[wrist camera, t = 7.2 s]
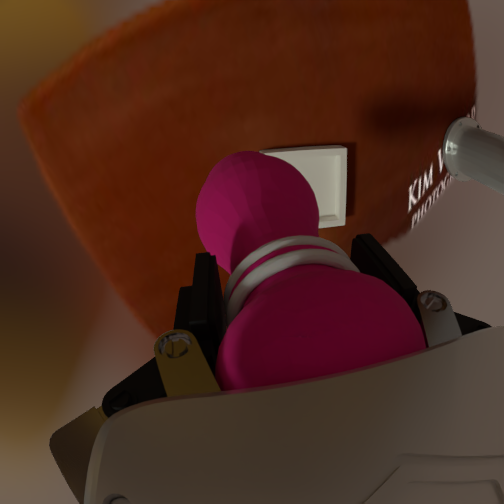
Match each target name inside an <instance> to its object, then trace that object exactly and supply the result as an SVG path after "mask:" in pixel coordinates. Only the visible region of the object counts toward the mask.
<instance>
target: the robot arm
mask: <svg viewBox="0 0 504 504" xmlns="http://www.w3.org/2000/svg"><path fill="white" fill-rule="evenodd" d="M443 158H444V163H445V166H446V168H447V170H448V172H449V173H450V175H451V176H452V177H454V178H455V179H457V180H459V181H469V180H471V179H474V180H476V181H478V182H480V183H482V184H484V185H486V186H488V187H489V188H491V189H493V190H495V191H497V192H498V193H500V194H502V195H504V137H503V136H500V135H497V134H495V133H491V132H488V131H485V130H482V128H481V126H480V125H479V123H478V122H477V121H475V120H474V119H472V118H469V117H460V118H457V119H456V120H455V121H453V122H452V124H451V125H450V126H449V128H448V130H447V132H446V135H445V138H444V143H443ZM350 260H351V262H352V263H353V264H354V265H355V266H356V267H357V268H358V269H359V271H360V273H363V274H366V275H370V276H373V277H376V278H378V279H380V280H382V281H384V282H385V283H386V284H387V285H389V286H390V287H391V288H392V289H394V290H395V291H396V292H397V293H398V294H399V295H400V296H401V297H402V298H403V299H404V300H405V301H406V303H407V304H408V305H409V307H410V308H411V310H412V312H413V314H414V315H415V317H416V319H417V320H418V322H419V324H420V326H421V329H422V332H423V335H424V339H425V344H426V349H423V350H420V351H417V352H414V353H410V354H407V355H404V356H400V357H397V358H394V359H390V360H387V361H383V362H379V363H376V364H372V365H368V366H364V367H360V368H357V369H352V370H348V371H344V372H339V373H334V374H330V375H325V376H320V377H315V378H310V379H304V380H299V381H293V382H287V383H281V384H275V385H268V386H261V387H253V388H245V389H237V390H228V391H221V390H220V388H219V386H218V384H217V382H216V380H215V366H216V360H217V355H218V349H219V346H220V344H221V342H222V340H223V337H224V335H225V333H226V317H225V310H224V301H223V295H222V290H221V284H220V278H219V272H218V266H217V260H216V255H211V254H210V252H206V253H197V254H196V259H195V267H194V276H193V284H192V286H186V287H181V288H180V290H179V296H178V303H177V309H176V315H175V322H174V329H173V330H171V331H168V332H166V333H164V334H162V335H161V336H160V337H159V338H158V339H157V340H156V342H155V344H154V354H155V357H154V358H153V359H151V360H150V361H149V362H147V363H146V364H144V365H143V366H142V367H140V368H139V369H138V370H137V371H135V372H134V373H132V374H131V375H130V376H128V377H127V378H125V379H124V380H123V381H121V382H120V383H119V384H117V385H116V386H114V387H113V388H112V389H110V390H109V391H108V392H107V393H106V395H105V396H104V398H103V401H102V406H100V407H99V408H97V409H96V408H95V407H92V408H91V409H89V410H88V411H86V412H85V413H83V414H82V415H80V416H78V417H77V418H75V419H74V420H72V421H71V422H69V423H67V424H66V425H64V426H63V427H61V428H60V429H58V430H57V431H55V432H54V433H53V434H52V436H51V438H50V443H49V446H50V450H51V453H52V455H53V457H54V459H55V461H56V463H57V465H58V467H59V469H60V471H61V473H62V475H63V477H64V478H65V480H66V482H67V484H68V486H69V487H70V489H71V491H72V492H73V494H74V496H75V497H76V499H77V501H78V502H79V504H504V326H497V327H491V326H490V325H488V324H487V323H485V322H482V321H479V320H476V319H473V318H470V317H467V316H464V315H461V314H459V313H456V312H453V309H452V306H451V304H450V302H449V300H448V299H447V298H446V297H445V296H444V295H443V294H441V293H439V292H436V291H431V290H427V291H423V292H421V293H420V292H419V291H418V290H417V286H416V285H415V284H414V282H413V281H412V280H411V279H410V278H409V276H408V275H407V274H406V273H405V272H404V271H403V269H402V268H401V267H400V266H399V265H398V264H397V263H396V261H395V260H394V259H393V258H392V257H391V256H390V255H389V254H388V252H387V251H386V250H385V249H384V248H383V247H382V246H381V245H380V244H379V243H378V242H377V240H376V239H375V238H374V237H373V236H372V235H371V234H360V235H357V236H356V238H354V239H353V240H352V248H351V258H350Z"/></svg>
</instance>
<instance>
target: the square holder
mask: <svg viewBox="0 0 504 504" xmlns="http://www.w3.org/2000/svg"><path fill="white" fill-rule="evenodd" d="M259 151H260V153H263V154H265V155H270V156H274V157H277V158H280V159H282V160H285V161H286V162H288V163H290V164H291V165H293V166H294V167H295V168H296V169H297V170H298V171H300V173H301V174H302V175H303V176H304V177H305V179H306V180H307V181H308V182H309V184H310V186H311V188H312V189H313V191H314V193H315V197H316V201H317V204H318V208H319V227H318V228H325V227H333V226H341V225H345V212H346V182H347V148H345V147H343V146H341V145H329V146H309V147H294V148H281V149H269V150H259Z"/></svg>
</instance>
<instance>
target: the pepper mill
mask: <svg viewBox="0 0 504 504" xmlns="http://www.w3.org/2000/svg"><path fill="white" fill-rule="evenodd" d="M196 220H197V227H198V232H199V235H200V239H201V241H202V243H203V245H204V247H205V249H206V250H207V252H210V254H211V255H216V260H217V264H219V265H220V266H221V267H222V268H224V269H225V270H226V271H227V272H229V273H230V275H231V276H230V278H229V280H228V283H227V285H226V288H225V292H224V310H225V314H226V326H227V331H226V333H225V335H224V337H223V340H222V342H221V344H220V346H219V349H218V355H217V360H216V366H215V380H216V382H217V384H218V386H219V388H220V390H221V391H228V390H237V389H245V388H253V387H261V386H268V385H275V384H281V383H287V382H293V381H299V380H304V379H310V378H315V377H320V376H325V375H330V374H334V373H339V372H344V371H348V370H352V369H357V368H360V367H364V366H368V365H372V364H376V363H379V362H383V361H387V360H390V359H394V358H397V357H400V356H404V355H407V354H410V353H414V352H417V351H420V350H423V349H426V344H425V339H424V335H423V332H422V329H421V326H420V324H419V322H418V320H417V319H416V317H415V315H414V314H413V312H412V310H411V308H410V307H409V305H408V304H407V303H406V301H405V300H404V299H403V298H402V297H401V296H400V295H399V294H398V293H397V292H396V291H395V290H394V289H392V288H391V287H390V286H389V285H387V284H386V283H385V282H384V281H382V280H380V279H378V278H376V277H373V276H370V275H366V274H363V273H360V271H359V269H358V268H357V267H356V266H355V265H354V264H353V263H352V262H351V260H350V259H349V257H348V256H347V254H346V253H345V252H344V251H343V250H342V249H341V248H340V247H338V246H337V245H336V244H334V243H332V242H330V241H328V240H325V239H323V238H319V235H318V227H319V208H318V204H317V201H316V197H315V193H314V191H313V189H312V188H311V186H310V184H309V182H308V181H307V180H306V179H305V177H304V176H303V175H302V174H301V173H300V171H298V170H297V169H296V168H295V167H294V166H293V165H291V164H290V163H288V162H286V161H285V160H282V159H280V158H277V157H274V156H270V155H265V154H263V153H259V152H254V151H242V152H238V153H234V154H231V155H229V156H227V157H225V158H224V159H222V160H221V161H220V162H219V163H217V164H216V165H215V166H214V168H213V169H212V170H211V172H210V174H209V175H208V177H207V180H206V182H205V184H204V185H203V187H202V189H201V192H200V194H199V196H198V201H197V205H196Z"/></svg>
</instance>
